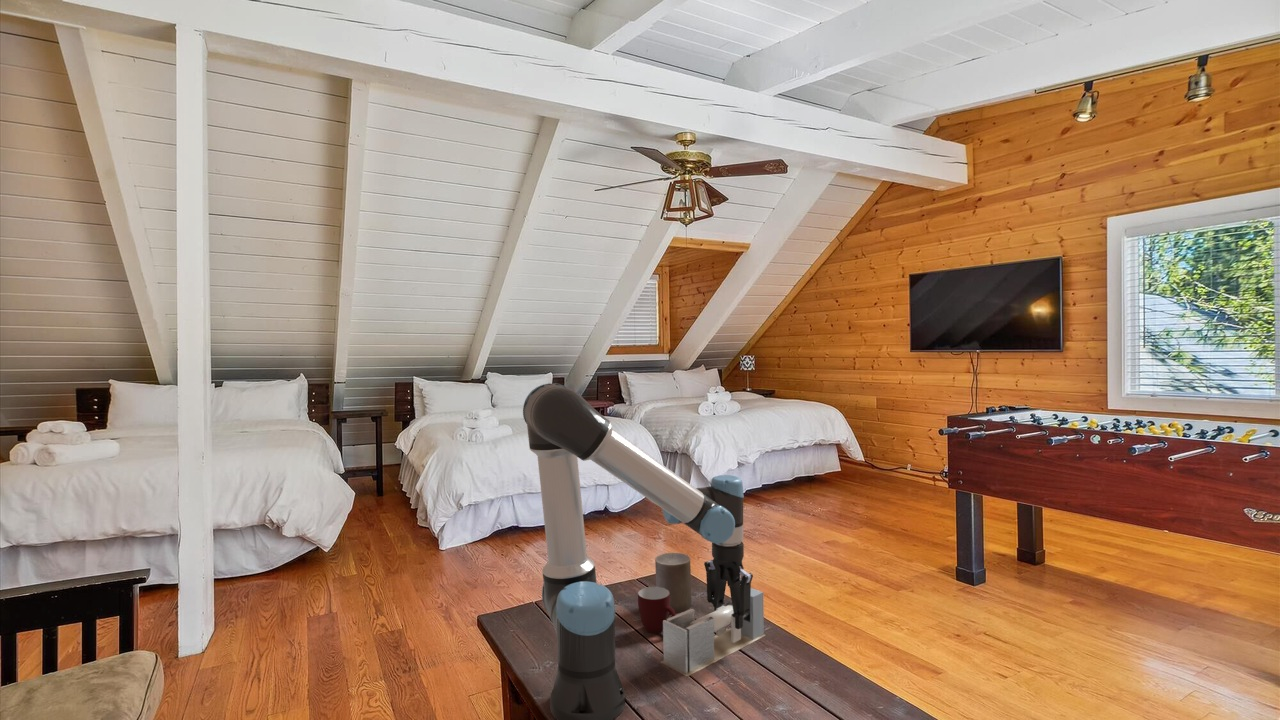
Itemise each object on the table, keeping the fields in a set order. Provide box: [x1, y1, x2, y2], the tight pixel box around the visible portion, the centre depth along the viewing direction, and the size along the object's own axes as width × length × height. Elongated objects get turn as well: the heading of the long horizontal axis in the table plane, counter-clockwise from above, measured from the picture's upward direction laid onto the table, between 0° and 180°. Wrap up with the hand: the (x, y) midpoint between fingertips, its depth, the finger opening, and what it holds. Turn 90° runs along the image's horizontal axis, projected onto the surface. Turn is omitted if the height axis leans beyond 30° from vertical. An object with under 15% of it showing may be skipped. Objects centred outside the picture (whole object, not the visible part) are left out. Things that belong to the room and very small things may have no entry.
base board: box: [660, 627, 766, 677], centre depth 154 cm, size 28×8×1 cm, turn 131°
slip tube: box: [690, 600, 750, 633], centre depth 156 cm, size 18×5×5 cm, turn 131°
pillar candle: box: [654, 552, 693, 616], centre depth 178 cm, size 10×10×15 cm
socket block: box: [730, 587, 765, 640], centre depth 162 cm, size 4×7×10 cm, turn 41°
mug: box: [637, 586, 677, 634], centre depth 164 cm, size 11×8×10 cm
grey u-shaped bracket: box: [662, 608, 715, 676], centre depth 148 cm, size 9×7×10 cm
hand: (728, 636), depth 157 cm, fingers closed on slip tube, 4 cm apart
